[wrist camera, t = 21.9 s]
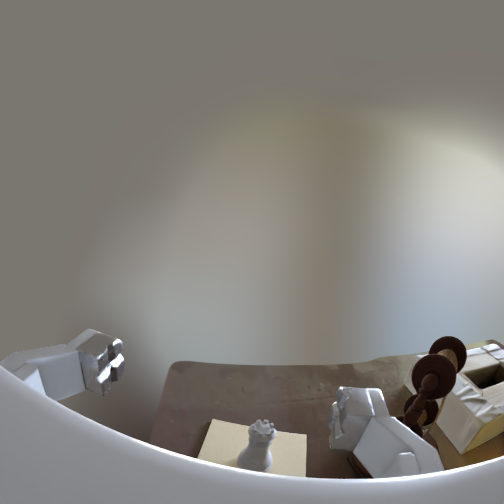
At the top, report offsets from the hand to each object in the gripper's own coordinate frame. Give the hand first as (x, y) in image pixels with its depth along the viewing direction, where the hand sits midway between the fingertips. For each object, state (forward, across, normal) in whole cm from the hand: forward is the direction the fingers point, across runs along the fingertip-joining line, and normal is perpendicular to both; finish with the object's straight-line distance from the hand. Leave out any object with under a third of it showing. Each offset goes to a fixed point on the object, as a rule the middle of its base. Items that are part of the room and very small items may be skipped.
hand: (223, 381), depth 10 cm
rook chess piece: (+16, -3, +27) cm, 31 cm away
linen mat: (+16, -3, +27) cm, 31 cm away
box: (+32, -49, +27) cm, 64 cm away
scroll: (+19, -23, +27) cm, 40 cm away
